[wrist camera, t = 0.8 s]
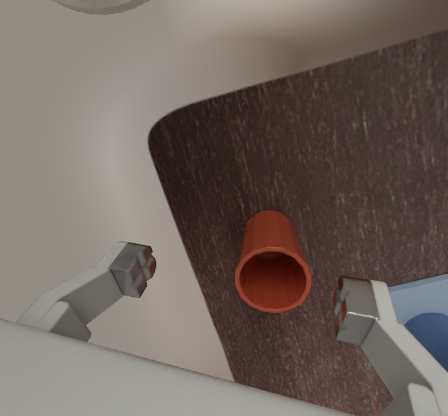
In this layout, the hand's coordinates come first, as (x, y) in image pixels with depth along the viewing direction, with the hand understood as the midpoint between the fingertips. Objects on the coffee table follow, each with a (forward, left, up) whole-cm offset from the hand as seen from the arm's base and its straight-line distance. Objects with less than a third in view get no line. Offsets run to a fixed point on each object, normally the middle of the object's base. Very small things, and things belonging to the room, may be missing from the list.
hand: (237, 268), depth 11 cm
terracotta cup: (+7, -1, -20) cm, 21 cm away
